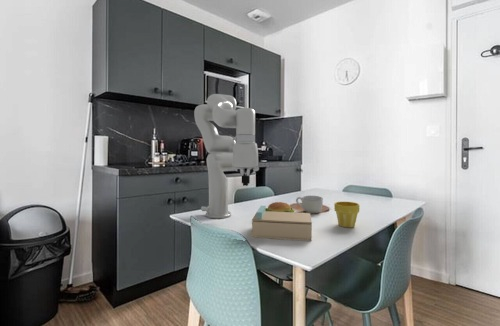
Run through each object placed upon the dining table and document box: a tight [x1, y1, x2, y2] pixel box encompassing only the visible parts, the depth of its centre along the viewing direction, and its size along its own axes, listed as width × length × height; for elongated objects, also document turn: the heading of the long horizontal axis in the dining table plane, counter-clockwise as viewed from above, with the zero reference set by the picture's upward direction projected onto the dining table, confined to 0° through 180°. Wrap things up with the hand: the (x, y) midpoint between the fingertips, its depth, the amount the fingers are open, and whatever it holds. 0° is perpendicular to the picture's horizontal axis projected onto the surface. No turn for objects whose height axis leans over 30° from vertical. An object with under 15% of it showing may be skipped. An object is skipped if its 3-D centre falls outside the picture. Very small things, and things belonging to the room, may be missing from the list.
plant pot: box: [333, 201, 360, 229], centre depth 118 cm, size 10×10×10 cm
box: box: [251, 220, 313, 242], centre depth 107 cm, size 22×14×6 cm, turn 80°
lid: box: [251, 205, 313, 224], centre depth 107 cm, size 22×14×3 cm, turn 80°
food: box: [266, 201, 295, 212], centre depth 129 cm, size 14×14×8 cm
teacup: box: [295, 195, 324, 214], centre depth 144 cm, size 14×11×8 cm
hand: (245, 185), depth 109 cm, fingers closed
